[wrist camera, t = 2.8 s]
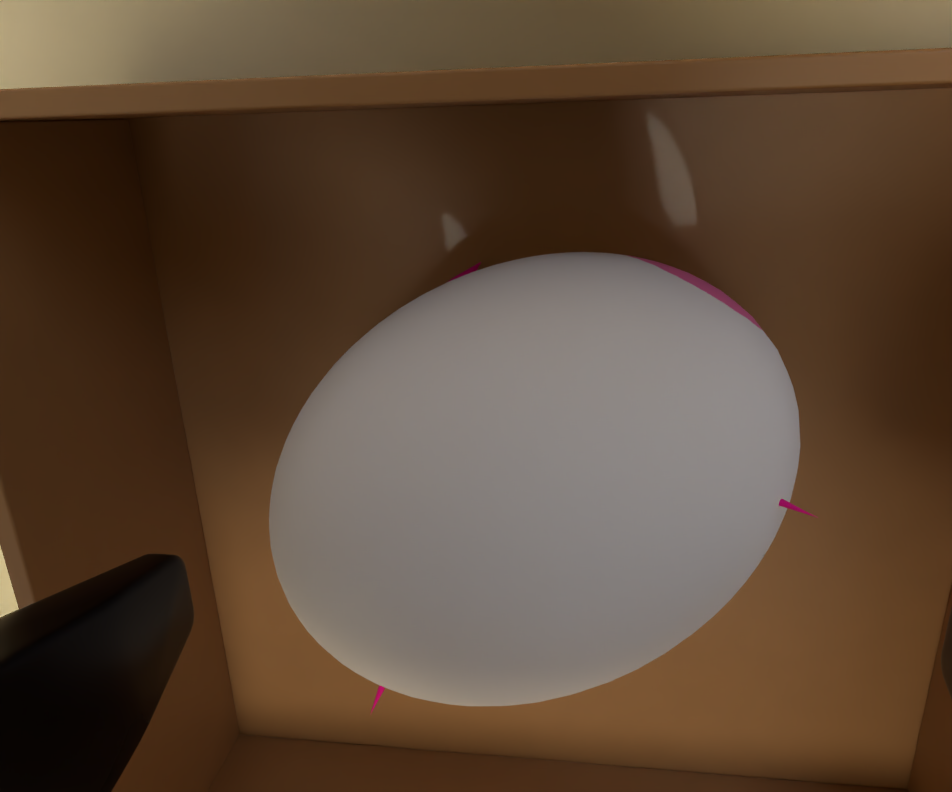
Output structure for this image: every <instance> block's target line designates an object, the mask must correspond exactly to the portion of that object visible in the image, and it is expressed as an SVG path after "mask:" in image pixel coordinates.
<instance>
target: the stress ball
mask: <svg viewBox="0 0 952 792" xmlns="http://www.w3.org/2000/svg"><path fill="white" fill-rule="evenodd" d="M480 264H481V262H479V263H478V264H476V265H474V266H473V267H471V268H469V269H467V270H466V271H464V272H462V273H460V274H458V275H457V276H455V277H453V278H452V279H451V280H449V281H448V282H446V283H445V284H443V285H441V286H439V287H437V288H435V289H433V290H431V291H429V292H427V293H425V294H423V295H421V296H419V297H418V298H416V299H414V300H413V301H411V302H409V303H408V304H406V305H404V306H403V307H401V308H399V309H398V310H397V311H395V312H394V313H392V314H391V315H390V316H388V317H387V318H385V319H384V320H383V321H381V322H380V323H378V324H377V325H376V326H375V327H374V328H372V329H371V330H370V331H369V332H368V333H366V334H365V335H364V336H363V337H362V338H361V339H360V340H358V341H357V342H356V343H355V344H354V345H353V346H352V347H351V348H350V349H349V350H348V351H347V352H346V353H345V354H344V355H343V356H342V357H341V358H340V359H339V360H338V361H337V362H336V363H335V364H334V365H333V367H332V368H331V369H330V370H329V371H328V373H327V374H326V375H325V376H324V378H323V379H322V380H321V382H320V383H319V384H318V386H317V387H316V388H315V389H314V391H313V392H312V393H311V395H310V397H309V398H308V400H307V401H306V403H305V405H304V406H303V408H302V409H301V411H300V413H299V415H298V417H297V419H296V420H295V422H294V424H293V426H292V428H291V430H290V432H289V435H288V437H287V439H286V441H285V444H284V447H283V450H282V452H281V455H280V458H279V461H278V464H277V467H276V471H275V476H274V480H273V486H272V491H271V498H270V511H269V532H270V544H271V551H272V556H273V560H274V565H275V569H276V573H277V576H278V579H279V581H280V584H281V586H282V589H283V591H284V593H285V595H286V598H287V600H288V602H289V604H290V606H291V608H292V609H293V611H294V612H295V614H296V616H297V617H298V619H299V620H300V622H301V623H302V624H303V626H304V627H305V628H306V630H307V631H308V632H309V633H310V635H311V636H312V637H313V638H314V639H315V640H316V641H317V642H318V644H320V645H321V646H322V647H323V648H324V649H325V650H326V651H327V652H328V653H330V654H331V655H332V656H333V657H334V658H336V659H337V660H338V661H339V662H340V663H342V664H343V665H345V666H346V667H348V668H349V669H351V670H352V671H354V672H355V673H357V674H359V675H361V676H362V677H364V678H366V679H368V680H370V681H372V682H374V683H375V684H378V685H379V688H378V691H377V694H376V697H375V701H374V704H373V707H372V711H373V709H374V708H375V706H376V704H377V702H378V700H379V699H380V697H381V695H382V693H383V691H384V689H385V688H387V689H390V690H393V691H395V692H398V693H401V694H404V695H407V696H410V697H414V698H418V699H423V700H428V701H433V702H438V703H443V704H450V705H460V706H511V705H520V704H529V703H537V702H542V701H546V700H551V699H555V698H560V697H564V696H568V695H572V694H575V693H579V692H582V691H585V690H587V689H590V688H593V687H596V686H599V685H602V684H605V683H608V682H610V681H613V680H615V679H617V678H619V677H622V676H624V675H626V674H628V673H630V672H633V671H635V670H637V669H639V668H641V667H642V666H644V665H646V664H648V663H649V662H651V661H653V660H654V659H656V658H658V657H660V656H661V655H663V654H665V653H666V652H668V651H669V650H671V649H672V648H673V647H675V646H676V645H678V644H679V643H680V642H682V641H683V640H685V639H686V638H688V637H689V636H690V635H692V634H693V633H694V632H696V631H697V630H698V629H699V628H700V627H702V626H703V625H704V624H705V623H706V622H708V621H709V620H710V619H711V618H712V617H713V616H714V615H715V614H717V613H718V612H719V611H720V610H721V609H722V608H723V607H724V606H725V605H726V604H727V603H728V602H729V601H730V600H731V599H732V597H733V596H734V595H735V594H736V593H737V592H738V590H739V589H740V588H741V587H742V586H743V585H744V583H745V582H746V581H747V580H748V578H749V577H750V576H751V574H752V573H753V572H754V570H755V569H756V567H757V566H758V565H759V563H760V561H761V560H762V558H763V557H764V555H765V554H766V552H767V550H768V549H769V547H770V545H771V543H772V542H773V540H774V538H775V536H776V534H777V532H778V529H779V527H780V525H781V523H782V520H783V518H784V516H785V513H786V511H787V508H788V509H792V510H795V511H798V512H801V513H804V514H807V515H811V516H814V515H812V514H810V513H808V512H806V511H805V510H803V509H801V508H799V507H797V506H795V505H793V504H791V503H789V502H790V500H791V496H792V492H793V488H794V484H795V480H796V475H797V470H798V463H799V454H800V428H799V410H798V406H797V401H796V397H795V392H794V388H793V385H792V382H791V380H790V377H789V374H788V372H787V370H786V367H785V365H784V363H783V361H782V359H781V356H780V354H779V352H778V350H777V348H776V347H775V346H774V344H773V343H772V342H771V340H770V339H769V338H768V336H767V335H766V334H765V332H764V331H763V330H762V328H761V327H760V326H759V324H758V323H757V322H756V321H755V319H754V318H753V317H752V316H751V315H750V314H749V313H748V312H747V311H745V310H744V309H743V308H742V307H741V306H740V305H739V304H737V303H736V302H735V301H734V300H733V299H731V298H730V297H729V296H727V295H726V294H725V293H724V292H722V291H721V290H719V289H717V288H716V287H714V286H712V285H711V284H709V283H707V282H706V281H704V280H702V279H700V278H698V277H696V276H694V275H692V274H690V273H688V272H685V271H682V270H680V269H677V268H675V267H672V266H669V265H666V264H663V263H660V262H656V261H652V260H648V259H644V258H639V257H634V256H629V255H621V254H612V253H598V252H566V253H554V254H545V255H538V256H531V257H526V258H521V259H516V260H512V261H508V262H504V263H500V264H496V265H492V266H489V267H486V268H483V269H480V270H477V269H478V267H479V265H480ZM814 517H816V516H814ZM817 518H818V517H817ZM372 711H371V713H372ZM370 715H371V714H370Z"/></svg>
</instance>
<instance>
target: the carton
mask: <svg viewBox="0 0 952 792" xmlns="http://www.w3.org/2000/svg"><path fill="white" fill-rule="evenodd" d="M566 252H598V253H612V254H621V255H629V256H634V257H639V258H644V259H648V260H652V261H656V262H660V263H663V264H666V265H669V266H672V267H675V268H677V269H680V270H682V271H685V272H688V273H690V274H692V275H694V276H696V277H698V278H700V279H702V280H704V281H706V282H707V283H709V284H711V285H712V286H714V287H716V288H717V289H719V290H721V291H722V292H724V293H725V294H726V295H727V296H729V297H730V298H731V299H733V300H734V301H735V302H736V303H737V304H739V305H740V306H741V307H742V308H743V309H744V310H745V311H747V312H748V313H749V314H750V315H751V316H752V317H753V318H754V319H755V321H756V322H757V323H758V324H759V326H760V327H761V328H762V330H763V331H764V332H765V334H766V335H767V336H768V338H769V339H770V340H771V342H772V343H773V344H774V346H775V347H776V348H777V350H778V352H779V354H780V356H781V359H782V361H783V363H784V365H785V367H786V370H787V372H788V374H789V377H790V380H791V382H792V385H793V388H794V392H795V397H796V401H797V406H798V410H799V428H800V454H799V463H798V470H797V475H796V480H795V484H794V488H793V492H792V496H791V500H790V502H789V503H791V504H793V505H795V506H797V507H799V508H801V509H803V510H805V511H806V512H808V513H810V514H812V515H814V516H816V517H814V516H811V515H807V514H804V513H801V512H798V511H795V510H792V509H788V508H787V511H786V513H785V516H784V518H783V520H782V523H781V525H780V527H779V529H778V532H777V534H776V536H775V538H774V540H773V542H772V543H771V545H770V547H769V549H768V550H767V552H766V554H765V555H764V557H763V558H762V560H761V561H760V563H759V565H758V566H757V567H756V569H755V570H754V572H753V573H752V574H751V576H750V577H749V578H748V580H747V581H746V582H745V583H744V585H743V586H742V587H741V588H740V589H739V590H738V592H737V593H736V594H735V595H734V596H733V597H732V599H731V600H730V601H729V602H728V603H727V604H726V605H725V606H724V607H723V608H722V609H721V610H720V611H719V612H718V613H717V614H715V615H714V616H713V617H712V618H711V619H710V620H709V621H708V622H706V623H705V624H704V625H703V626H702V627H700V628H699V629H698V630H697V631H696V632H694V633H693V634H692V635H690V636H689V637H688V638H686V639H685V640H683V641H682V642H680V643H679V644H678V645H676V646H675V647H673V648H672V649H671V650H669V651H668V652H666V653H665V654H663V655H661V656H660V657H658V658H656V659H654V660H653V661H651V662H649V663H648V664H646V665H644V666H642V667H641V668H639V669H637V670H635V671H633V672H630V673H628V674H626V675H624V676H622V677H619V678H617V679H615V680H613V681H610V682H608V683H605V684H602V685H599V686H596V687H593V688H590V689H587V690H585V691H582V692H579V693H575V694H572V695H568V696H564V697H560V698H555V699H551V700H546V701H542V702H537V703H529V704H520V705H511V706H460V705H450V704H443V703H438V702H433V701H428V700H423V699H418V698H414V697H410V696H407V695H404V694H401V693H398V692H395V691H393V690H390V689H387V688H385V689H384V691H383V693H382V695H381V697H380V699H379V700H378V702H377V704H376V706H375V708H374V709H373V711H372V707H373V704H374V701H375V697H376V694H377V691H378V688H379V685H378V684H375V683H374V682H372V681H370V680H368V679H366V678H364V677H362V676H361V675H359V674H357V673H355V672H354V671H352V670H351V669H349V668H348V667H346V666H345V665H343V664H342V663H340V662H339V661H338V660H337V659H336V658H334V657H333V656H332V655H331V654H330V653H328V652H327V651H326V650H325V649H324V648H323V647H322V646H321V645H320V644H318V642H317V641H316V640H315V639H314V638H313V637H312V636H311V635H310V633H309V632H308V631H307V630H306V628H305V627H304V626H303V624H302V623H301V622H300V620H299V619H298V617H297V616H296V614H295V612H294V611H293V609H292V608H291V606H290V604H289V602H288V600H287V598H286V595H285V593H284V591H283V589H282V586H281V584H280V581H279V579H278V576H277V573H276V569H275V565H274V560H273V556H272V551H271V544H270V532H269V511H270V498H271V491H272V486H273V480H274V476H275V471H276V467H277V464H278V461H279V458H280V455H281V452H282V450H283V447H284V444H285V441H286V439H287V437H288V435H289V432H290V430H291V428H292V426H293V424H294V422H295V420H296V419H297V417H298V415H299V413H300V411H301V409H302V408H303V406H304V405H305V403H306V401H307V400H308V398H309V397H310V395H311V393H312V392H313V391H314V389H315V388H316V387H317V386H318V384H319V383H320V382H321V380H322V379H323V378H324V376H325V375H326V374H327V373H328V371H329V370H330V369H331V368H332V367H333V365H334V364H335V363H336V362H337V361H338V360H339V359H340V358H341V357H342V356H343V355H344V354H345V353H346V352H347V351H348V350H349V349H350V348H351V347H352V346H353V345H354V344H355V343H356V342H357V341H358V340H360V339H361V338H362V337H363V336H364V335H365V334H366V333H368V332H369V331H370V330H371V329H372V328H374V327H375V326H376V325H377V324H378V323H380V322H381V321H383V320H384V319H385V318H387V317H388V316H390V315H391V314H392V313H394V312H395V311H397V310H398V309H399V308H401V307H403V306H404V305H406V304H408V303H409V302H411V301H413V300H414V299H416V298H418V297H419V296H421V295H423V294H425V293H427V292H429V291H431V290H433V289H435V288H437V287H439V286H441V285H443V284H445V283H446V282H448V281H449V280H451V279H452V278H453V277H455V276H457V275H458V274H460V273H462V272H464V271H466V270H467V269H469V268H471V267H473V266H474V265H476V264H478V263H479V262H481V264H480V265H479V267H478V269H477V270H480V269H483V268H486V267H489V266H492V265H496V264H500V263H504V262H508V261H512V260H516V259H521V258H526V257H531V256H538V255H545V254H554V253H566ZM817 517H818V518H817ZM0 545H1V549H2V552H3V556H4V559H5V562H6V566H7V569H8V573H9V576H10V580H11V583H12V587H13V590H14V593H15V597H16V600H17V604H18V607H19V609H21V608H24V607H26V606H28V605H30V604H33V603H35V602H37V601H40V600H42V599H44V598H47V597H49V596H51V595H53V594H56V593H58V592H60V591H63V590H65V589H67V588H70V587H72V586H74V585H76V584H79V583H81V582H83V581H86V580H88V579H90V578H93V577H95V576H97V575H99V574H102V573H104V572H106V571H109V570H111V569H113V568H116V567H118V566H120V565H122V564H125V563H127V562H129V561H132V560H134V559H136V558H139V557H141V556H143V555H146V554H151V553H153V554H173V555H178V556H179V557H181V558H182V559H183V561H184V563H185V566H186V570H187V575H188V580H189V585H190V590H191V595H192V600H193V605H194V623H193V627H192V630H191V633H190V635H189V637H188V639H187V641H186V644H185V646H184V648H183V650H182V652H181V655H180V657H179V659H178V661H177V663H176V666H175V668H174V670H173V672H172V674H171V677H170V679H169V681H168V683H167V686H166V688H165V690H164V692H163V694H162V697H161V699H160V701H159V703H158V705H157V708H156V710H155V712H154V714H153V716H152V719H151V721H150V723H149V725H148V727H147V729H146V731H145V733H144V735H143V737H142V739H141V741H140V743H139V744H138V746H137V748H136V750H135V752H134V754H133V755H132V757H131V759H130V761H129V762H128V764H127V766H126V768H125V769H124V771H123V773H122V775H121V776H120V778H119V780H118V781H117V783H116V785H115V787H114V788H113V790H112V792H952V699H951V697H950V694H949V691H948V689H947V686H946V683H945V681H944V678H943V674H942V669H941V653H942V648H943V643H944V639H945V634H946V629H947V625H948V620H949V616H950V611H951V607H952V48H935V49H912V50H889V51H867V52H844V53H821V54H798V55H775V56H752V57H729V58H707V59H684V60H661V61H638V62H615V63H592V64H569V65H547V66H524V67H501V68H478V69H455V70H432V71H409V72H386V73H364V74H341V75H318V76H295V77H272V78H249V79H226V80H204V81H181V82H158V83H135V84H112V85H89V86H66V87H43V88H21V89H0ZM371 711H372V713H371ZM370 714H371V715H370Z"/></svg>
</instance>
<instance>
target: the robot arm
mask: <svg viewBox="0 0 952 792" xmlns="http://www.w3.org/2000/svg"><path fill="white" fill-rule="evenodd" d="M193 623H194V605H193V600H192V595H191V590H190V585H189V580H188V575H187V570H186V566H185V563H184V561H183V559H182V558H181V557H179V556H178V555H173V554H153V553H151V554H146V555H143V556H141V557H139V558H136V559H134V560H132V561H129V562H127V563H125V564H122V565H120V566H118V567H116V568H113V569H111V570H109V571H106V572H104V573H102V574H99V575H97V576H95V577H93V578H90V579H88V580H86V581H83V582H81V583H79V584H76V585H74V586H72V587H70V588H67V589H65V590H63V591H60V592H58V593H56V594H53V595H51V596H49V597H47V598H44V599H42V600H40V601H37V602H35V603H33V604H30V605H28V606H26V607H24V608H21V609H19V610H17V611H14V612H12V613H10V614H7V615H5V616H3V617H1V618H0V792H112V790H113V788H114V787H115V785H116V783H117V781H118V780H119V778H120V776H121V775H122V773H123V771H124V769H125V768H126V766H127V764H128V762H129V761H130V759H131V757H132V755H133V754H134V752H135V750H136V748H137V746H138V744H139V743H140V741H141V739H142V737H143V735H144V733H145V731H146V729H147V727H148V725H149V723H150V721H151V719H152V716H153V714H154V712H155V710H156V708H157V705H158V703H159V701H160V699H161V697H162V694H163V692H164V690H165V688H166V686H167V683H168V681H169V679H170V677H171V674H172V672H173V670H174V668H175V666H176V663H177V661H178V659H179V657H180V655H181V652H182V650H183V648H184V646H185V644H186V641H187V639H188V637H189V635H190V633H191V630H192V627H193ZM941 669H942V674H943V678H944V681H945V683H946V686H947V689H948V691H949V694H950V697H951V699H952V607H951V611H950V616H949V620H948V625H947V629H946V634H945V639H944V643H943V648H942V653H941Z"/></svg>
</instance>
